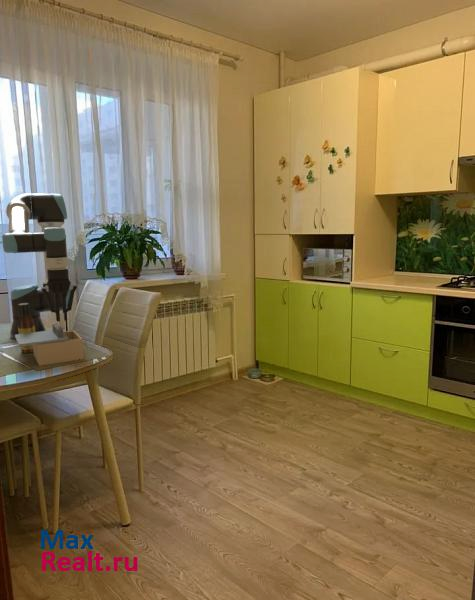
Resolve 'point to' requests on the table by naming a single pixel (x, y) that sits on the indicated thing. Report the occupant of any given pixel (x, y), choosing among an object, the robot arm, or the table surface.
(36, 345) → the mailer box
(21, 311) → the sauce bottle
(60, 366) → the table surface
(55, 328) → the mailer lid
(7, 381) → the table surface
